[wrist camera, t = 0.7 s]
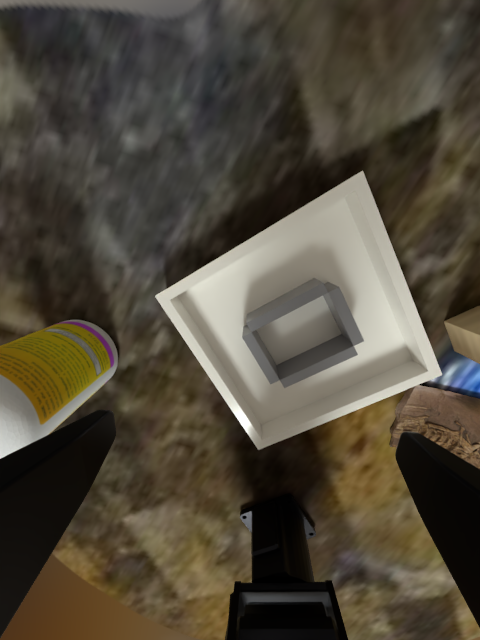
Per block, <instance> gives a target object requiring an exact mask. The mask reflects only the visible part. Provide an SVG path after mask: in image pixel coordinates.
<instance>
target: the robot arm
mask: <svg viewBox="0 0 480 640" xmlns="http://www.w3.org/2000/svg"><path fill="white" fill-rule="evenodd" d="M115 436H116V428H115V420H114V414H113V412H112V411H110V410H97V411H95V412H93V413H91V414H89V415H87V416H85V417H83V418H81V419H79V420H77V421H75V422H73V423H71V424H69V425H67V426H65V427H63V428H61V429H59V430H57V431H55V432H53V433H51V434H49V435H47V436H45V437H43V438H41V439H39V440H37V441H35V442H33V443H31V444H29V445H27V446H25V447H23V448H21V449H19V450H17V451H15V452H13V453H11V454H9V455H7V456H5V457H3V458H1V459H0V638H1V636H2V634H3V633H4V631H5V629H6V628H7V626H8V624H9V623H10V621H11V619H12V618H13V616H14V614H15V613H16V611H17V609H18V608H19V606H20V605H21V603H22V601H23V599H24V598H25V596H26V595H27V593H28V591H29V590H30V588H31V586H32V585H33V583H34V581H35V579H36V578H37V576H38V575H39V573H40V571H41V570H42V568H43V566H44V565H45V563H46V561H47V560H48V558H49V556H50V555H51V553H52V552H53V550H54V548H55V547H56V545H57V543H58V542H59V540H60V538H61V537H62V535H63V533H64V532H65V530H66V528H67V527H68V525H69V523H70V522H71V520H72V518H73V517H74V515H75V513H76V512H77V510H78V508H79V507H80V505H81V504H82V502H83V500H84V498H85V497H86V495H87V493H88V492H89V490H90V488H91V486H92V484H93V482H94V480H95V478H96V476H97V474H98V472H99V470H100V468H101V466H102V464H103V462H104V460H105V458H106V456H107V454H108V452H109V450H110V448H111V446H112V444H113V441H114V439H115ZM396 461H397V463H398V466H399V468H400V470H401V473H402V475H403V477H404V479H405V482H406V484H407V486H408V489H409V491H410V493H411V496H412V498H413V500H414V503H415V505H416V507H417V509H418V512H419V514H420V516H421V518H422V520H423V522H424V524H425V526H426V528H427V530H428V532H429V534H430V536H431V537H432V539H433V541H434V543H435V545H436V547H437V549H438V550H439V552H440V554H441V556H442V558H443V560H444V562H445V564H446V565H447V567H448V569H449V571H450V573H451V575H452V577H453V579H454V580H455V582H456V584H457V586H458V588H459V590H460V592H461V594H462V595H463V597H464V599H465V601H466V603H467V605H468V607H469V609H470V610H471V612H472V614H473V616H474V618H475V620H476V622H477V624H478V625H479V627H480V469H479V468H477V467H475V466H474V465H472V464H470V463H468V462H467V461H465V460H463V459H462V458H460V457H458V456H457V455H455V454H453V453H452V452H450V451H448V450H447V449H445V448H443V447H442V446H440V445H438V444H437V443H435V442H433V441H432V440H430V439H428V438H426V437H425V436H423V435H421V434H420V433H417V432H406V431H405V432H402V433H401V435H400V439H399V442H398V446H397V449H396ZM240 518H241V520H242V521H243V522H244V524H245V525H246V526H247V528H248V529H249V530H250V532H251V533H252V551H251V553H252V583H241V581H235V585H234V592H233V593H232V594H230V607H229V619H228V626H227V631H226V636H225V640H348V637H347V634H346V630H345V627H344V623H343V619H342V616H341V612H340V609H339V605H338V602H337V598H336V594H335V591H334V587H333V584H332V580H325V582H314V577H313V571H312V566H311V560H310V555H309V549H308V544H307V539H309V538H312V537H314V536H315V535H316V532H315V529H314V527H313V526H312V524H311V523H310V521H309V520H308V518H307V517H306V515H305V514H304V512H303V511H302V509H301V508H300V506H299V505H298V503H297V502H296V500H295V499H294V497H293V496H292V495H290V494H288V495H284V496H282V497H279V498H276V499H273V500H271V501H268V502H265V503H262V504H259V505H257V506H254V507H251V508H248V509H245V510H243V511H241V512H240Z"/></svg>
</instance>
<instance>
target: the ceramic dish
mask: <svg viewBox="0 0 480 640" xmlns="http://www.w3.org/2000/svg"><path fill="white" fill-rule="evenodd" d="M155 297H156V299H157V300H158V302H159V303H160V304H161V306H162V307H163V309H164V310H165V312H166V313H167V315H168V316H169V318H170V319H171V321H172V322H173V324H174V325H175V327H176V328H177V330H178V331H179V333H180V334H181V336H182V337H183V339H184V340H185V342H186V343H187V345H188V346H189V348H190V349H191V351H192V352H193V354H194V355H195V357H196V358H197V360H198V361H199V362H200V364H201V365H202V367H203V368H204V370H205V371H206V373H207V374H208V376H209V377H210V379H211V380H212V382H213V383H214V385H215V386H216V388H217V389H218V391H219V392H220V394H221V395H222V397H223V398H224V400H225V401H226V403H227V404H228V406H229V407H230V409H231V410H232V412H233V413H234V415H235V416H236V417H237V419H238V420H239V422H240V423H241V425H242V426H243V428H244V429H245V431H246V432H247V434H248V435H249V437H250V438H251V440H252V441H253V443H254V444H255V446H256V447H257V449H258V450H260V449H262V448H265V447H267V446H270V445H272V444H274V443H277V442H279V441H282V440H284V439H287V438H289V437H292V436H294V435H296V434H299V433H301V432H304V431H306V430H309V429H311V428H314V427H316V426H319V425H321V424H323V423H326V422H328V421H331V420H333V419H336V418H338V417H341V416H343V415H346V414H348V413H350V412H353V411H355V410H358V409H360V408H363V407H365V406H368V405H370V404H372V403H375V402H377V401H380V400H382V399H385V398H387V397H390V396H392V395H395V394H397V393H399V392H402V391H404V390H407V389H409V388H412V387H414V386H417V385H419V384H421V383H424V382H426V381H429V380H431V379H434V378H436V377H439V376H441V375H442V373H441V371H440V368H439V365H438V363H437V360H436V358H435V355H434V353H433V350H432V347H431V345H430V342H429V340H428V337H427V335H426V332H425V329H424V327H423V324H422V322H421V319H420V316H419V314H418V311H417V309H416V306H415V304H414V301H413V298H412V296H411V293H410V291H409V288H408V286H407V283H406V280H405V278H404V275H403V273H402V270H401V268H400V265H399V262H398V260H397V257H396V255H395V252H394V250H393V247H392V244H391V242H390V239H389V237H388V234H387V231H386V229H385V226H384V224H383V221H382V219H381V216H380V213H379V211H378V208H377V206H376V203H375V201H374V198H373V195H372V193H371V190H370V188H369V185H368V183H367V180H366V177H365V175H364V172H363V171H361V172H359V173H358V174H356V175H354V176H353V177H351V178H350V179H348V180H346V181H345V182H343V183H341V184H340V185H338V186H336V187H335V188H333V189H331V190H330V191H328V192H326V193H325V194H323V195H321V196H320V197H318V198H316V199H315V200H313V201H311V202H310V203H308V204H306V205H305V206H303V207H301V208H300V209H298V210H297V211H295V212H293V213H292V214H290V215H288V216H287V217H285V218H283V219H282V220H280V221H278V222H277V223H275V224H273V225H272V226H270V227H268V228H267V229H265V230H263V231H262V232H260V233H258V234H257V235H255V236H253V237H252V238H250V239H249V240H247V241H245V242H244V243H242V244H240V245H239V246H237V247H235V248H234V249H232V250H230V251H229V252H227V253H225V254H224V255H222V256H220V257H219V258H217V259H215V260H214V261H212V262H210V263H209V264H207V265H205V266H204V267H202V268H201V269H199V270H197V271H196V272H194V273H192V274H191V275H189V276H187V277H186V278H184V279H182V280H181V281H179V282H177V283H176V284H174V285H172V286H171V287H169V288H167V289H166V290H164V291H162V292H161V293H159V294H157V295H156V296H155Z"/></svg>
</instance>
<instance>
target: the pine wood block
mask: <svg viewBox="0 0 480 640" xmlns="http://www.w3.org/2000/svg"><path fill="white" fill-rule="evenodd" d="M444 323H445V326H446V328H447V331H448V334H449V337H450V340H451V342H452V345H453V348H454V351H456V352H458V353H460V354H462V355H464V356H466V357H468V358H470V359H471V360H473V361H475V362H477V363H479V364H480V305H479V306H477V307H475V308H473V309H470V310H468V311H466V312H464V313H461V314H459V315H457V316H455V317H453V318H450V319H448V320H446V321H444Z"/></svg>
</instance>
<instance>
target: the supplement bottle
mask: <svg viewBox="0 0 480 640" xmlns="http://www.w3.org/2000/svg"><path fill="white" fill-rule="evenodd" d="M117 364H118V353H117V349H116V347H115V344H114V342H113V341H112V339H111V338H110V336H109V335H108V334H107V333H106V332H105V331H104V330H102V329H101V328H100V327H98V326H97V325H95V324H93V323H90V322H87V321H83V320H67V321H63V322H60V323H57V324H55V325H52V326H49V327H47V328H44V329H42V330H39V331H37V332H34V333H32V334H29V335H27V336H24V337H22V338H19V339H17V340H14V341H12V342H9V343H7V344H4V345H2V346H0V459H1V458H3V457H5V456H7V455H9V454H11V453H13V452H15V451H17V450H19V449H21V448H23V447H25V446H27V445H29V444H31V443H33V442H35V441H37V440H39V439H41V438H43V437H45V436H47V435H49V434H50V433H51V432H52V431H54V430H55V429H56V428H57V427H58V426H59V425H60V424H61V423H62V422H63V421H64V420H65V419H67V418H68V417H69V416H70V415H71V414H72V413H73V412H74V411H75V410H76V409H78V408H79V407H80V406H81V405H82V404H83V403H84V402H85V401H86V400H87V399H89V398H90V397H91V396H92V395H93V394H94V393H95V392H96V391H97V390H98V389H100V388H101V387H102V386H103V385H104V384H105V383H106V382H107V381H108V380H109V379H110V378H111V377H112V376H113V374H114V372H115V371H116V368H117Z"/></svg>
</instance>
